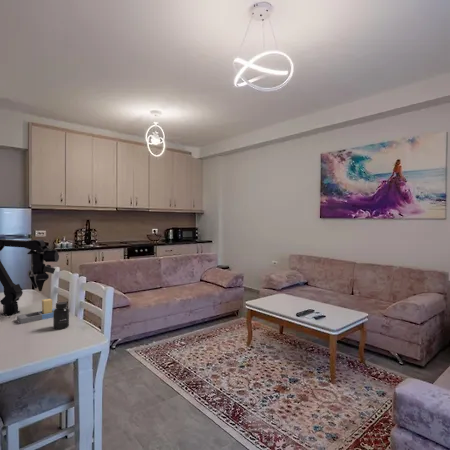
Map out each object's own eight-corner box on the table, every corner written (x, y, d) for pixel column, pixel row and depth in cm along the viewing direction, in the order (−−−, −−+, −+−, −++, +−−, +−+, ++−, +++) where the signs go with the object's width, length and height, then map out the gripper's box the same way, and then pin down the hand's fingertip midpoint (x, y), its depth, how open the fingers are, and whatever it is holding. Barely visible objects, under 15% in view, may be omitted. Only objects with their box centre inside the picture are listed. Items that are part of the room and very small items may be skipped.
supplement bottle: (62, 330, 148) (62, 305, 148) (50, 329, 150) (49, 304, 149) (72, 325, 155) (72, 301, 155) (60, 324, 156) (60, 300, 156)
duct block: (20, 324, 156) (20, 319, 156) (17, 320, 162) (17, 315, 162) (62, 315, 170) (62, 310, 170) (57, 312, 176) (57, 307, 175)
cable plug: (44, 318, 166) (43, 301, 165) (42, 316, 168) (41, 299, 168) (52, 316, 168) (52, 300, 168) (50, 314, 171) (50, 298, 171)
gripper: (58, 262, 173) (59, 290, 173) (48, 258, 186) (49, 284, 186) (36, 264, 165) (36, 293, 165) (27, 260, 178) (27, 287, 179)
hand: (38, 289), depth 174 cm, fingers open, 9 cm apart
